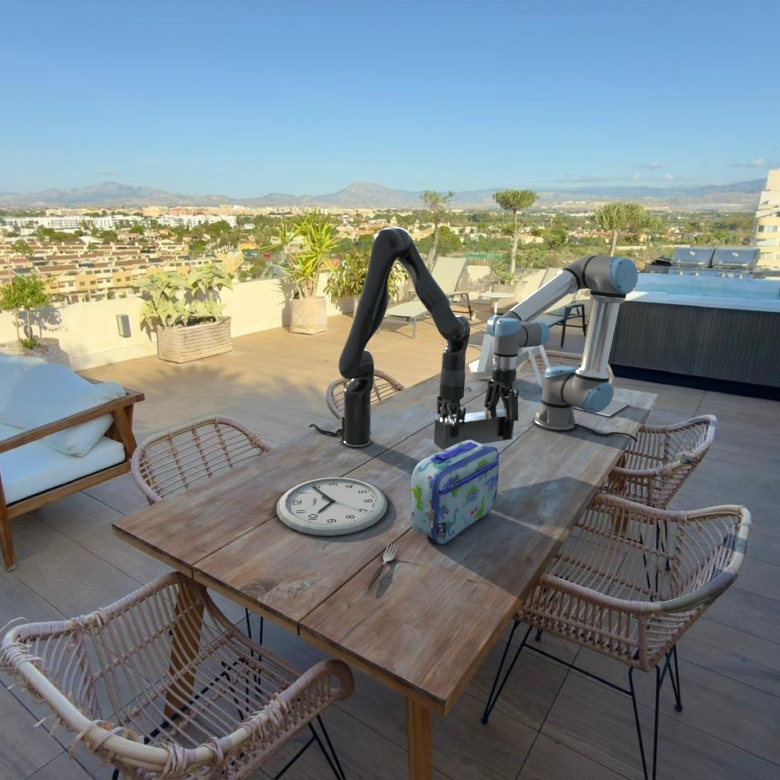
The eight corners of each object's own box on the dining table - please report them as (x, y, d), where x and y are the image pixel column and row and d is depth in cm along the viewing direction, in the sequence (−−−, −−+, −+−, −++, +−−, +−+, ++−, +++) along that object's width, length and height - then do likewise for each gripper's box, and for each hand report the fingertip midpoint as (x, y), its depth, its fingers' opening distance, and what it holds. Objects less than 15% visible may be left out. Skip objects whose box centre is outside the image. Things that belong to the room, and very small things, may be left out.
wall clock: (392, 527, 129) (268, 531, 127) (391, 533, 130) (269, 537, 127) (383, 473, 158) (282, 475, 155) (383, 478, 158) (282, 480, 156)
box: (501, 432, 177) (503, 408, 174) (512, 439, 171) (514, 414, 169) (433, 443, 167) (435, 417, 164) (443, 450, 161) (444, 424, 159)
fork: (362, 589, 110) (362, 581, 109) (388, 548, 124) (388, 541, 123) (373, 592, 109) (373, 584, 108) (398, 550, 123) (399, 543, 122)
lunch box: (436, 553, 122) (441, 472, 116) (403, 535, 129) (406, 457, 123) (500, 514, 140) (507, 441, 133) (468, 499, 147) (473, 430, 141)
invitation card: (608, 416, 214) (573, 407, 224) (608, 416, 214) (573, 408, 224) (628, 404, 229) (594, 396, 238) (628, 405, 229) (594, 397, 238)
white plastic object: (490, 419, 265) (470, 397, 240) (471, 347, 287) (451, 319, 262) (561, 395, 253) (548, 369, 228) (536, 321, 275) (521, 290, 250)
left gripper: (430, 376, 164) (428, 426, 169) (453, 389, 151) (450, 443, 156) (451, 374, 167) (448, 423, 172) (475, 387, 154) (471, 439, 159)
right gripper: (476, 361, 173) (471, 425, 180) (514, 377, 155) (508, 448, 161) (495, 359, 176) (490, 422, 183) (535, 375, 157) (528, 444, 164)
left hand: (449, 432), depth 164 cm, fingers closed on box, 6 cm apart
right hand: (498, 434), depth 172 cm, fingers open, 8 cm apart
